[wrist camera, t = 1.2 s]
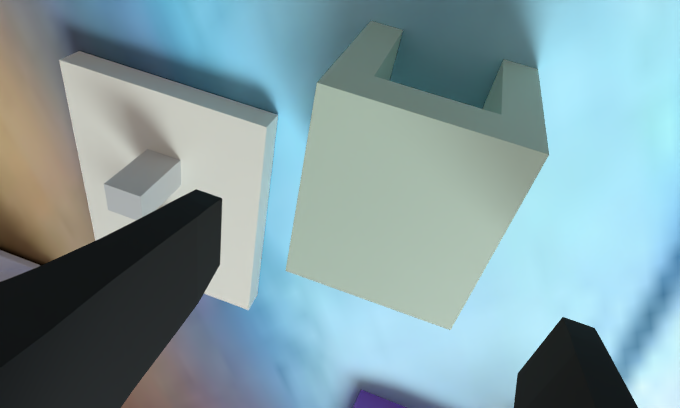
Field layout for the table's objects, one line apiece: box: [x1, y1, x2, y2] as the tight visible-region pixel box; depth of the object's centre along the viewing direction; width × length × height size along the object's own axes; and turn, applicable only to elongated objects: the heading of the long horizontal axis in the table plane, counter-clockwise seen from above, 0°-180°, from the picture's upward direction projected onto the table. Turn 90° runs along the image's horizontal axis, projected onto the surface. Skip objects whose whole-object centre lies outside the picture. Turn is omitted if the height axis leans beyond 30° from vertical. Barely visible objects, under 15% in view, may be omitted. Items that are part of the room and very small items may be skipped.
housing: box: [286, 21, 549, 330], centre depth 14 cm, size 6×5×5 cm
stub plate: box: [59, 51, 278, 310], centre depth 19 cm, size 10×8×4 cm
